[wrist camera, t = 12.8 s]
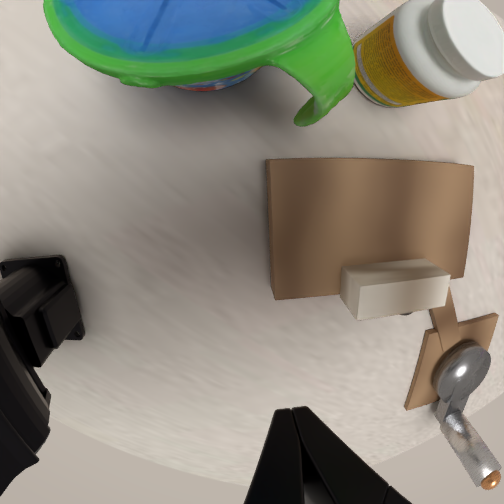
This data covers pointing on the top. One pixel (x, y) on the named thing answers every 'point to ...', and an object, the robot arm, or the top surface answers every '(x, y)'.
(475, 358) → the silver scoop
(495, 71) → the supplement bottle
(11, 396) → the robot arm
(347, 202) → the brown panel stand
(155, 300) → the top surface
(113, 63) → the snack cup
